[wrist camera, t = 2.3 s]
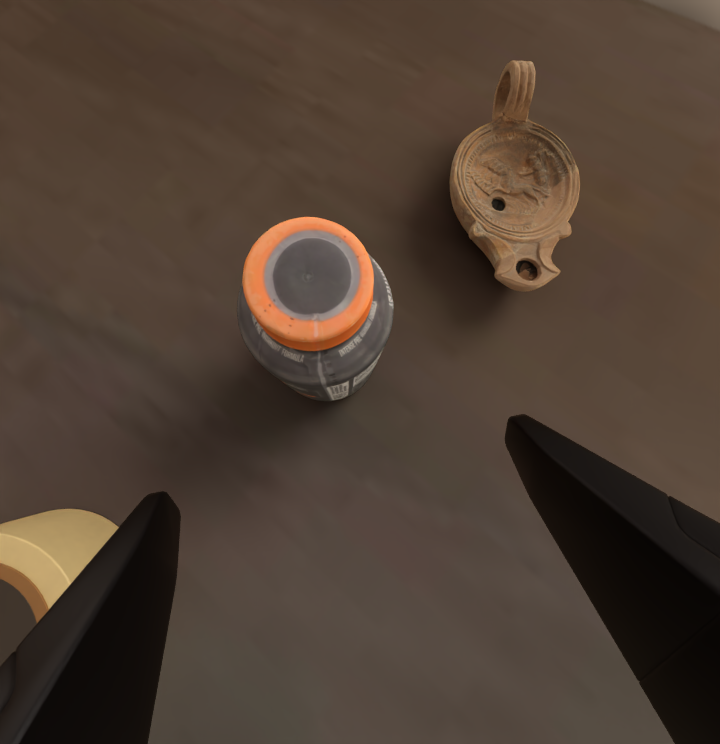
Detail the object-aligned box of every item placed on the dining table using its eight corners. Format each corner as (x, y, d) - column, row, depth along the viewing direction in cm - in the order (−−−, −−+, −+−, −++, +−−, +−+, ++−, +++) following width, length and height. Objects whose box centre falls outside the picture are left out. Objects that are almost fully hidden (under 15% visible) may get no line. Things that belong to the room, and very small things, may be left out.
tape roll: (105, 715, 19) (21, 815, 14) (-63, 664, 19) (-206, 745, 14) (170, 535, 20) (114, 568, 15) (14, 488, 20) (-92, 506, 15)
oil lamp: (558, 306, 23) (616, 272, 18) (440, 302, 23) (466, 266, 18) (546, 122, 25) (595, 47, 20) (438, 117, 25) (460, 39, 20)
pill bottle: (258, 337, 22) (168, 241, 11) (342, 287, 23) (339, 149, 12) (310, 422, 21) (272, 412, 10) (395, 368, 22) (446, 304, 11)
